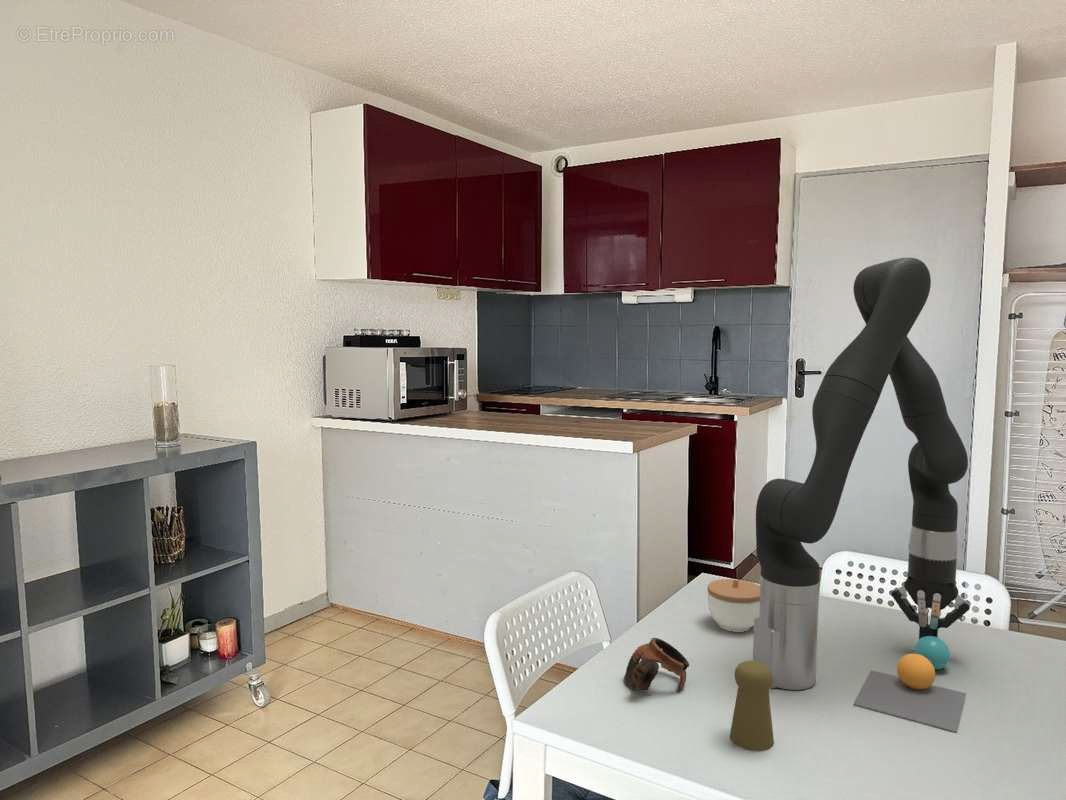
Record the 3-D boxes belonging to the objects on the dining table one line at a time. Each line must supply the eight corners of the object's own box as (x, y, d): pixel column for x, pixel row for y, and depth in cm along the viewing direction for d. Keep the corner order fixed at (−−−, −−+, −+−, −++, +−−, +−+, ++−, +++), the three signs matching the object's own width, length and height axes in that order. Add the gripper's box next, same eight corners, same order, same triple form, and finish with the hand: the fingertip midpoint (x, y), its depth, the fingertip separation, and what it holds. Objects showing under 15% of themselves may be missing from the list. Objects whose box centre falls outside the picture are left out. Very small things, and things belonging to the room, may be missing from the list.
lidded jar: (770, 637, 140) (771, 589, 139) (713, 637, 140) (714, 589, 140) (754, 615, 151) (755, 571, 150) (701, 615, 151) (702, 570, 150)
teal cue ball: (934, 634, 131) (925, 664, 131) (912, 628, 129) (902, 658, 129) (961, 646, 126) (952, 677, 126) (939, 640, 124) (929, 672, 124)
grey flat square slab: (956, 733, 107) (956, 731, 107) (853, 704, 115) (853, 703, 115) (965, 694, 118) (965, 693, 118) (871, 671, 126) (871, 670, 126)
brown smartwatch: (629, 669, 128) (654, 629, 127) (675, 706, 124) (701, 665, 123) (605, 680, 117) (632, 637, 117) (654, 721, 113) (682, 676, 112)
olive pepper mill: (765, 756, 101) (767, 679, 100) (722, 741, 105) (725, 666, 104) (780, 737, 106) (782, 663, 105) (739, 723, 109) (741, 651, 108)
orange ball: (917, 688, 123) (912, 701, 118) (892, 660, 125) (886, 671, 120) (944, 671, 120) (941, 683, 116) (918, 642, 122) (914, 653, 118)
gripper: (977, 553, 131) (972, 648, 132) (895, 541, 138) (891, 631, 140) (974, 564, 125) (968, 663, 126) (888, 550, 132) (883, 644, 134)
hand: (927, 646), depth 133 cm, fingers closed
